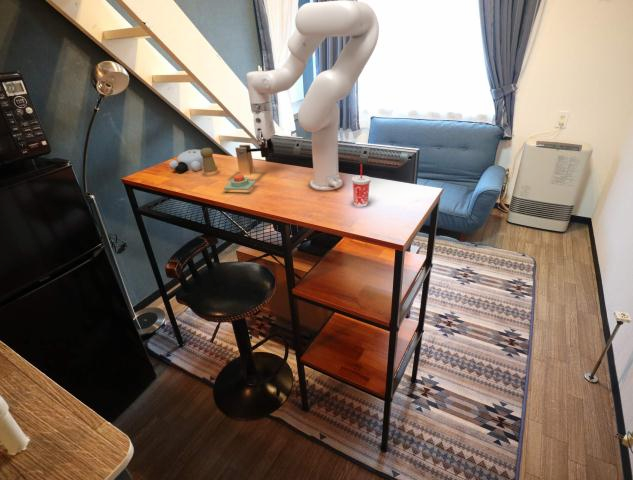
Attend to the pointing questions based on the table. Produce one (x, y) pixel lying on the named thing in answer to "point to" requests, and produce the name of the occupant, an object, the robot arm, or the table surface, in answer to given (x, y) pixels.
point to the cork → (208, 160)
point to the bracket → (244, 160)
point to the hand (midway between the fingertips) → (267, 154)
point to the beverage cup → (361, 190)
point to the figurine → (187, 161)
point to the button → (239, 178)
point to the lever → (255, 149)
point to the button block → (239, 185)
